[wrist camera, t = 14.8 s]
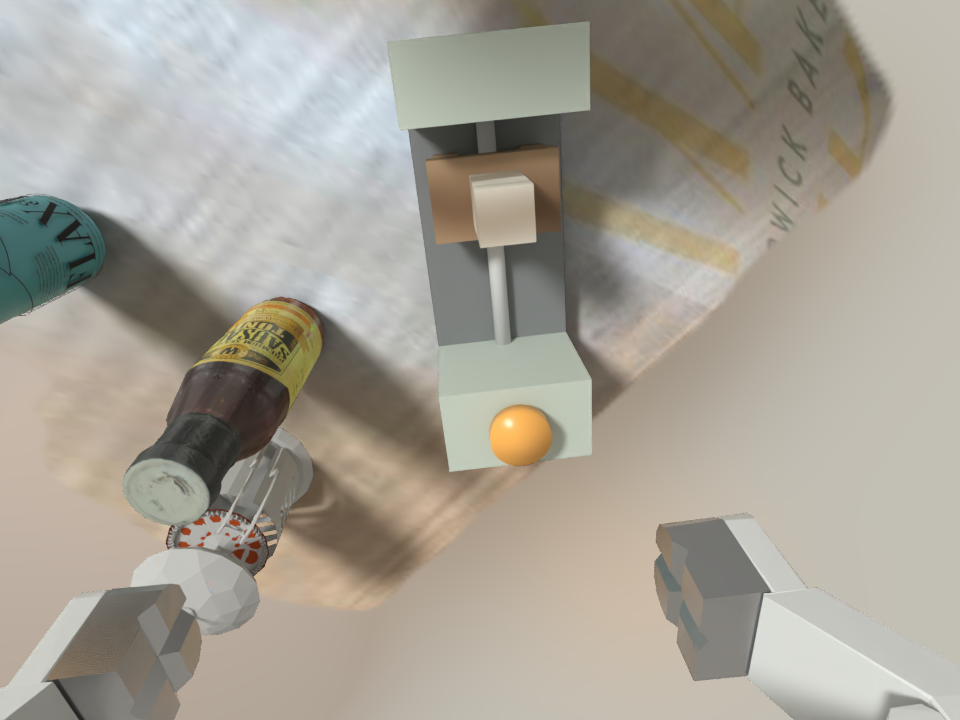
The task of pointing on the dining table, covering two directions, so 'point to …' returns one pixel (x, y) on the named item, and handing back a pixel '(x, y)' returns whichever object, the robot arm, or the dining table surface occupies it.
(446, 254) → the rail bench
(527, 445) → the button
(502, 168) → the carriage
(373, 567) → the dining table surface
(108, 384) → the dining table surface
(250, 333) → the sauce bottle
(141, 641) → the robot arm
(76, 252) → the beverage bottle
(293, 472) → the french press
